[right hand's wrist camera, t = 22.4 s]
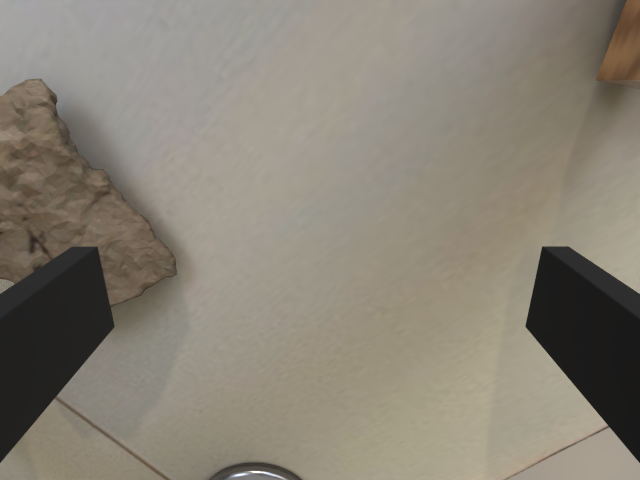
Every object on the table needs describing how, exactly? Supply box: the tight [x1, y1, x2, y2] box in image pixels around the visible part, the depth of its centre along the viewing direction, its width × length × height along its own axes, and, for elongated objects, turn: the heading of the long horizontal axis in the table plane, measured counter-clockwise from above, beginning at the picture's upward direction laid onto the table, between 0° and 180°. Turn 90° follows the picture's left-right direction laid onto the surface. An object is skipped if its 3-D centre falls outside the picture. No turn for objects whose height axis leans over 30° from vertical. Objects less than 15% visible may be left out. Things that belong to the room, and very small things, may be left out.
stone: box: [0, 79, 177, 307], centre depth 38 cm, size 21×15×6 cm
